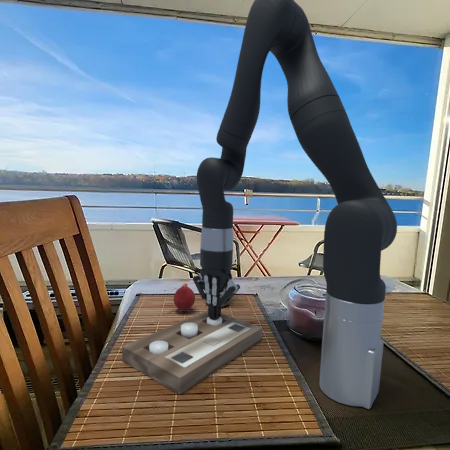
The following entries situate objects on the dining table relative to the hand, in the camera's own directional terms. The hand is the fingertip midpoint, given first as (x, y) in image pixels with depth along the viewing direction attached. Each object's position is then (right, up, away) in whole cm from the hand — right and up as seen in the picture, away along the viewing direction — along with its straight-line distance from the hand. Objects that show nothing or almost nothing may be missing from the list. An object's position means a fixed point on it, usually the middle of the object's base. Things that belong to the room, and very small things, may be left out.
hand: (214, 318), depth 78 cm
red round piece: (-9, -2, +13) cm, 16 cm away
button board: (-3, -4, -8) cm, 10 cm away
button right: (0, -3, 0) cm, 3 cm away
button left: (-11, -4, -13) cm, 17 cm away
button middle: (-5, -2, -7) cm, 9 cm away
